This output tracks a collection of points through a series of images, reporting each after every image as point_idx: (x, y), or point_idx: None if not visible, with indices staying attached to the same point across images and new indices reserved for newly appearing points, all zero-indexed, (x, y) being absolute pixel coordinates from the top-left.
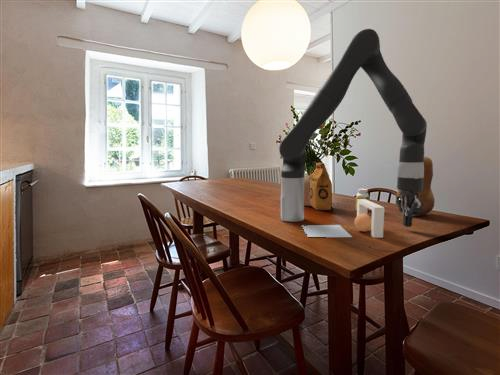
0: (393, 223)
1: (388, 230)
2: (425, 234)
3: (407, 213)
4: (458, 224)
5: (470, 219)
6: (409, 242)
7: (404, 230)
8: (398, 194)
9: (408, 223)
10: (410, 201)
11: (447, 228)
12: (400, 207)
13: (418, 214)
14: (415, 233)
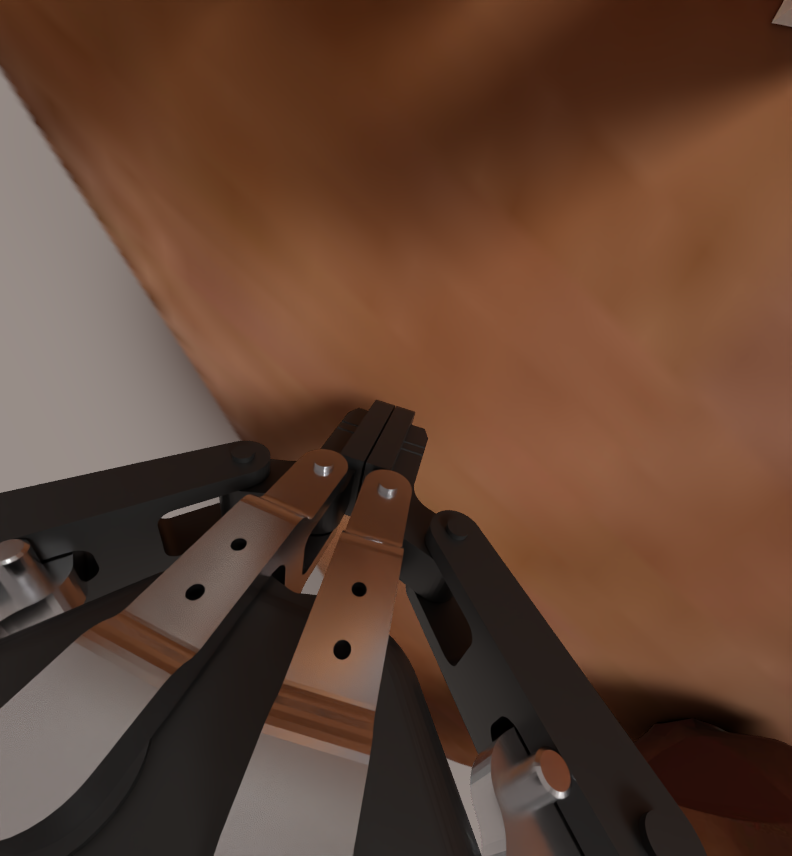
0: (630, 479)
1: (453, 244)
2: (295, 441)
3: (291, 473)
4: (425, 684)
5: (472, 755)
6: (104, 162)
7: (408, 392)
8: None
9: (343, 422)
10: (36, 631)
11: None
12: (461, 570)
13: (658, 732)
14: (322, 403)
